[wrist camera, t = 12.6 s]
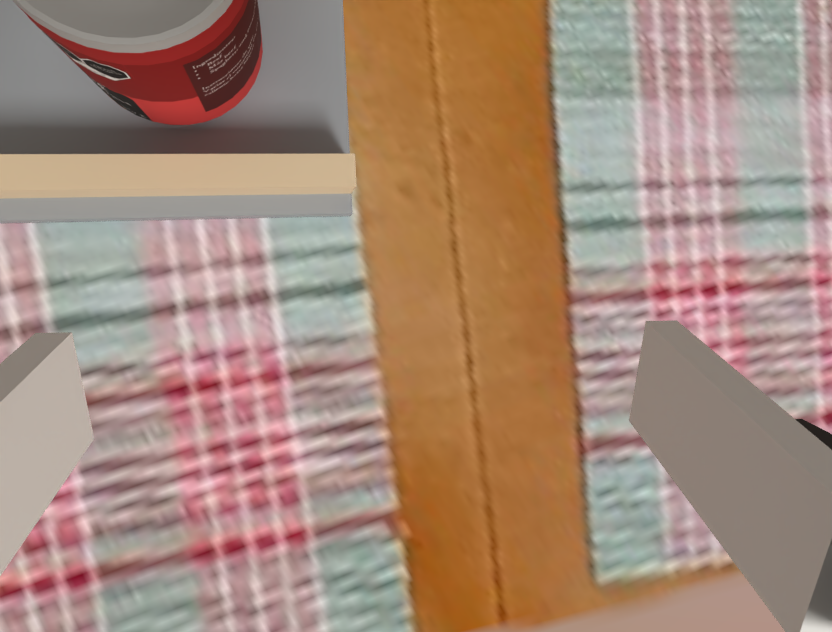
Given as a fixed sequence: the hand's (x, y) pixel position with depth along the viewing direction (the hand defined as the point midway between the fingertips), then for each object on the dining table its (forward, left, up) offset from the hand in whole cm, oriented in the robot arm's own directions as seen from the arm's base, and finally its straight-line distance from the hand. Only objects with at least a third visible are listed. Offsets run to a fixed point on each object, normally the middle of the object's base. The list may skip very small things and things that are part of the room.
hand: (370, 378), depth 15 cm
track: (+8, -13, -19) cm, 24 cm away
